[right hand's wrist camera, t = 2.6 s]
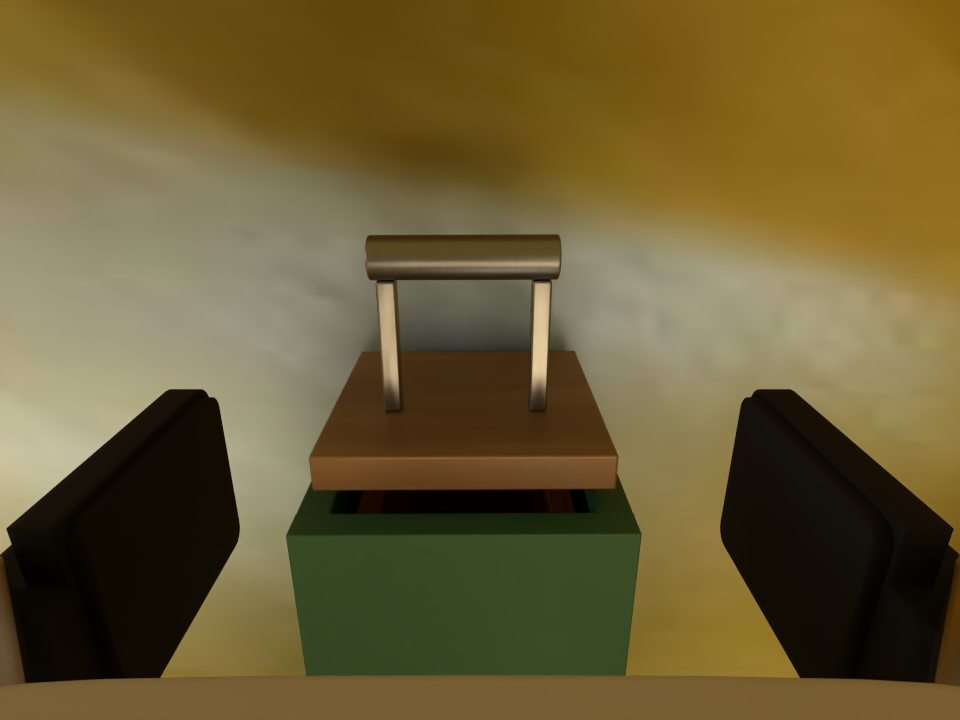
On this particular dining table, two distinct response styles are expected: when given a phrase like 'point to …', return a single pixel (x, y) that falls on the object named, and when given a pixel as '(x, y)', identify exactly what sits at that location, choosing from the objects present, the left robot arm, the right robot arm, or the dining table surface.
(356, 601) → the cabinet
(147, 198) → the dining table surface
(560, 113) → the dining table surface
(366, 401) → the drawer
